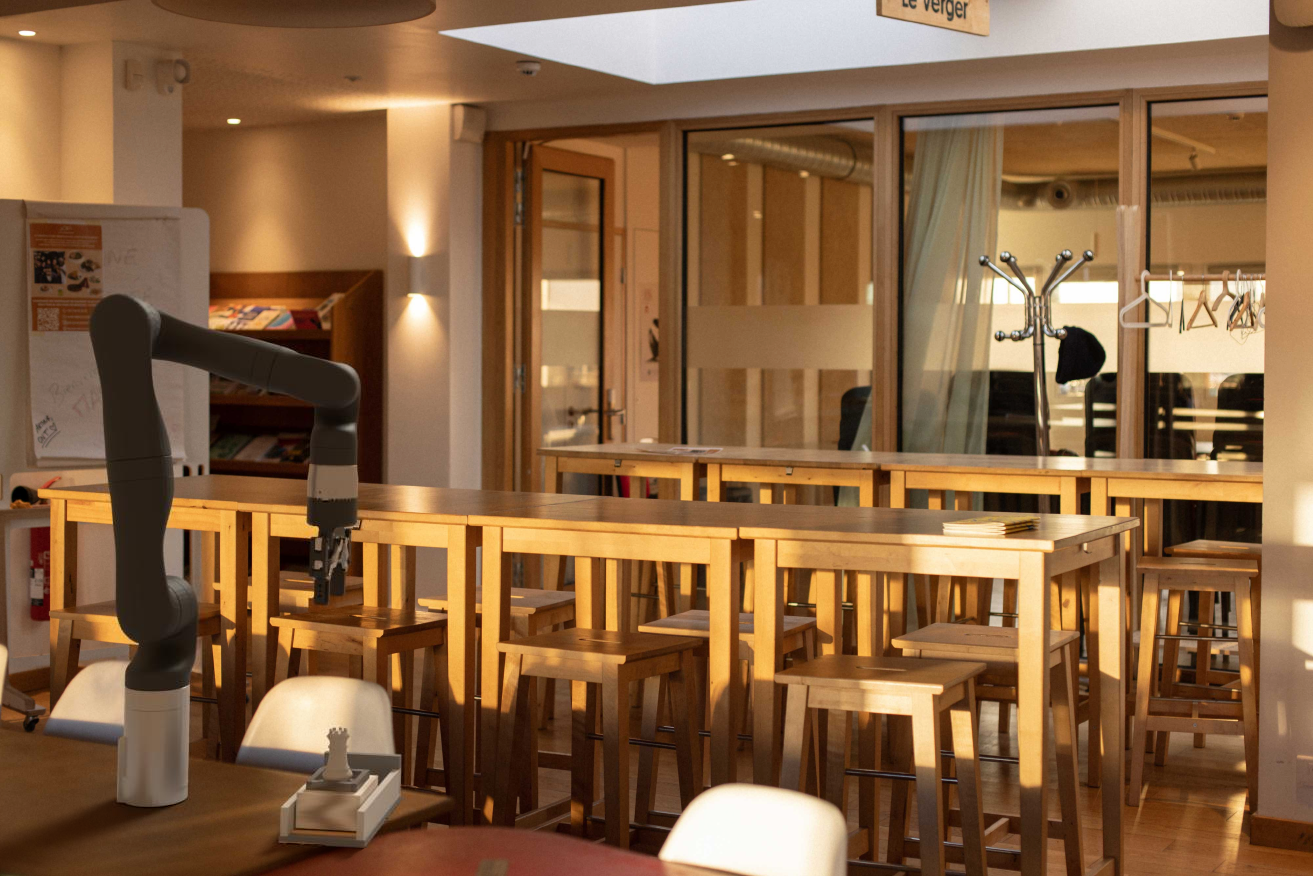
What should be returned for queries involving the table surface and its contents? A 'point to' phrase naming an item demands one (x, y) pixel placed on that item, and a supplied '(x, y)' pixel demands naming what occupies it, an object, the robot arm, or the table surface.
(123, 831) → the table surface
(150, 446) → the robot arm
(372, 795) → the crate bay
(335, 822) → the frame
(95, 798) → the table surface
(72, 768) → the table surface
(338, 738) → the rook chess piece
